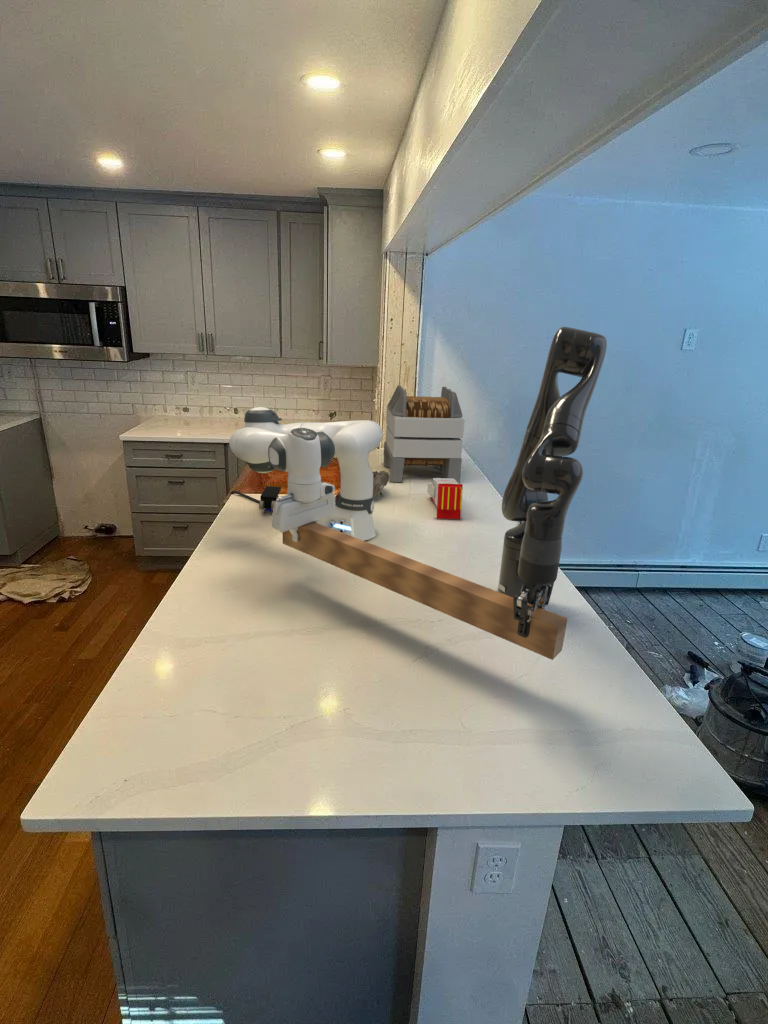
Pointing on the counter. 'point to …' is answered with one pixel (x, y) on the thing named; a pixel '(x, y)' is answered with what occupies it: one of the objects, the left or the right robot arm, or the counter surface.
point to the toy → (446, 497)
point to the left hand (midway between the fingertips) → (304, 537)
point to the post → (431, 587)
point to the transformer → (423, 433)
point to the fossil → (379, 481)
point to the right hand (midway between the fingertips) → (528, 630)
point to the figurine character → (269, 498)
